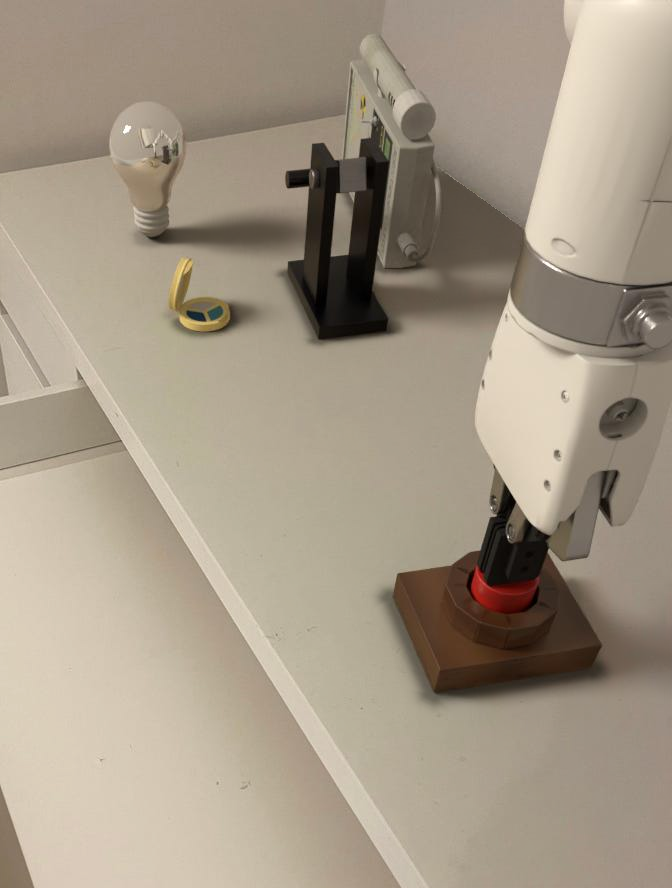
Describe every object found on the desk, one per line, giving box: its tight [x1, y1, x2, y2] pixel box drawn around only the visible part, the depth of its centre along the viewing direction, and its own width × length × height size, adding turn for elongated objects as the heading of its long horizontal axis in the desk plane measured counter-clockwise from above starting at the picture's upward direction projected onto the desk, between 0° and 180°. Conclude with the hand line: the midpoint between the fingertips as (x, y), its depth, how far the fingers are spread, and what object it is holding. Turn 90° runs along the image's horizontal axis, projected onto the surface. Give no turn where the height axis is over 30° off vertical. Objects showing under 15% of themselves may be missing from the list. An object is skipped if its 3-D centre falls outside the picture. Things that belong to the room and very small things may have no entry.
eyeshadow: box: [168, 257, 231, 332], centre depth 83 cm, size 4×5×5 cm
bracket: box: [286, 138, 389, 340], centre depth 81 cm, size 11×6×13 cm, turn 10°
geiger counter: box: [341, 33, 442, 269], centre depth 89 cm, size 14×6×25 cm
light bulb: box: [108, 100, 187, 239], centre depth 90 cm, size 7×7×12 cm
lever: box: [284, 157, 367, 194], centre depth 82 cm, size 12×5×2 cm, turn 10°
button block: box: [392, 550, 603, 694], centre depth 59 cm, size 10×8×4 cm
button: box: [471, 566, 539, 614], centre depth 58 cm, size 4×4×2 cm
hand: (506, 572), depth 57 cm, fingers closed
